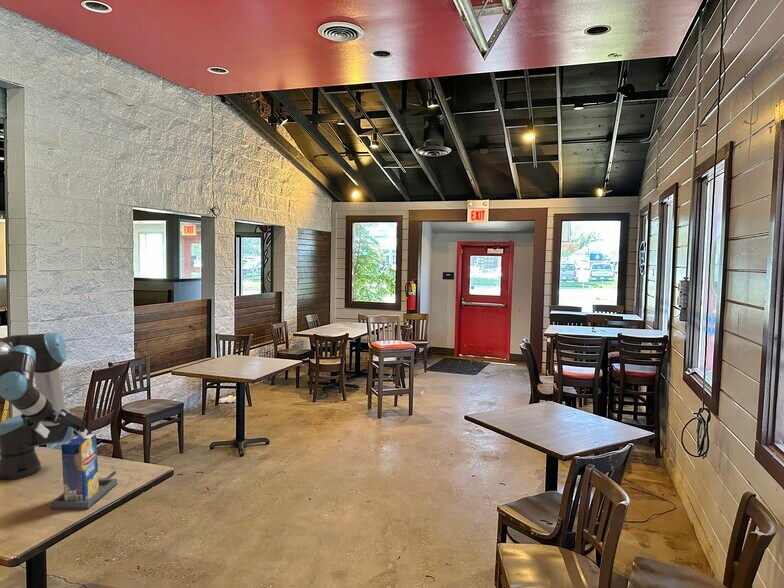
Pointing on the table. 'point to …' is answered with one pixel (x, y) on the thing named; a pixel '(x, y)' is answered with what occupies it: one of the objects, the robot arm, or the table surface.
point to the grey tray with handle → (104, 488)
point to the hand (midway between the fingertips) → (66, 434)
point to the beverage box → (80, 468)
